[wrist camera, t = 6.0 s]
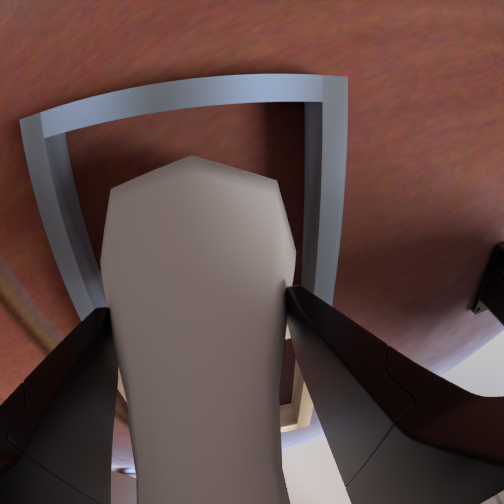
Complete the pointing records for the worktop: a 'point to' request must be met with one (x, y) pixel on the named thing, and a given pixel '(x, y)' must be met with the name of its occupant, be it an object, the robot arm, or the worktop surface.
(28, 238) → the worktop surface
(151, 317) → the flask
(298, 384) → the caddy
